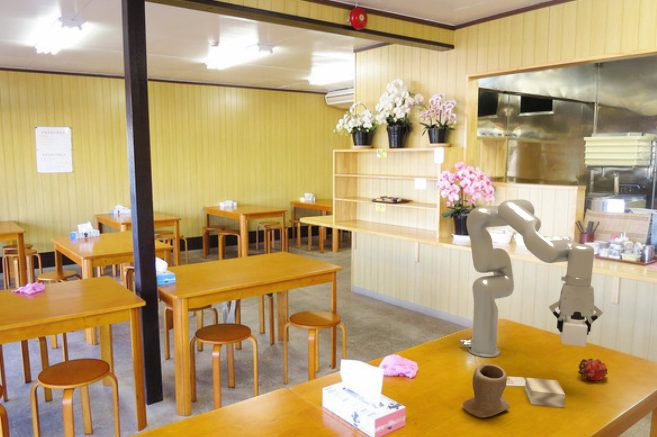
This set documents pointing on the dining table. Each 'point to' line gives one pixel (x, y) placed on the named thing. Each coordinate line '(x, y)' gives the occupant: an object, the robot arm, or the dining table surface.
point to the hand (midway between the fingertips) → (573, 331)
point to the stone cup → (487, 391)
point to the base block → (544, 392)
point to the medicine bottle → (574, 330)
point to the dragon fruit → (592, 369)
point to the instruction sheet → (515, 381)
